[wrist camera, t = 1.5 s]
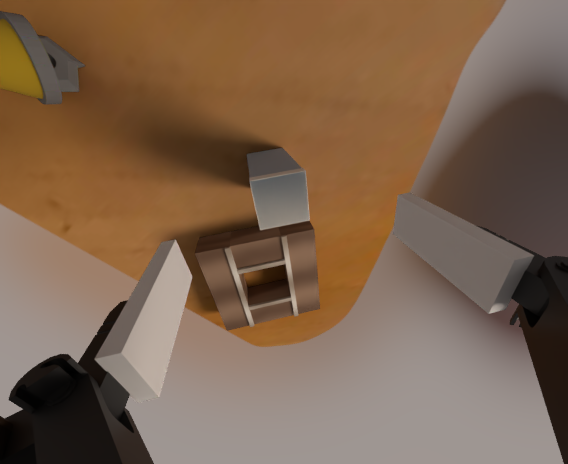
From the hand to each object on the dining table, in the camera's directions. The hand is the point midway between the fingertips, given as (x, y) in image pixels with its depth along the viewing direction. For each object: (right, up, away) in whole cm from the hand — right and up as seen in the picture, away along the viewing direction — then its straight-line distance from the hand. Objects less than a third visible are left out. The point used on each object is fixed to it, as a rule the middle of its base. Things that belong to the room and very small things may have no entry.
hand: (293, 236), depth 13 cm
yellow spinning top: (-21, +14, +5) cm, 25 cm away
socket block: (-4, -5, +19) cm, 20 cm away
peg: (-2, +7, +12) cm, 15 cm away
